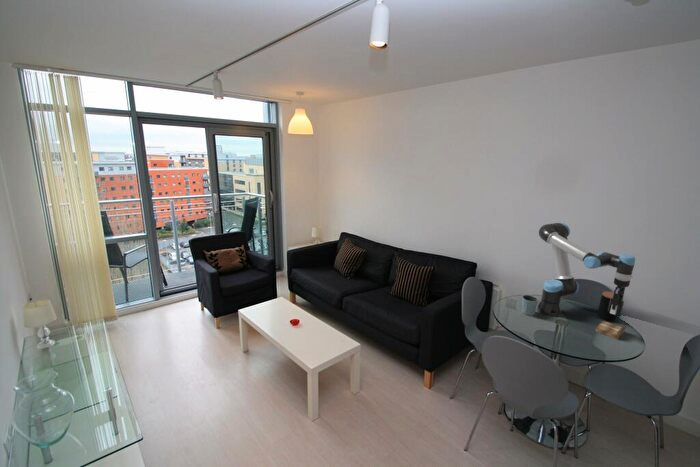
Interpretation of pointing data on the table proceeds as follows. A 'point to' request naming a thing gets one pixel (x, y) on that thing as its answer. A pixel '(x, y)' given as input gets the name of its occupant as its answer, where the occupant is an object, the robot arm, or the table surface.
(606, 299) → the coffee jar
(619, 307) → the supplement bottle
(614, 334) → the dock
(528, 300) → the grey green cup
